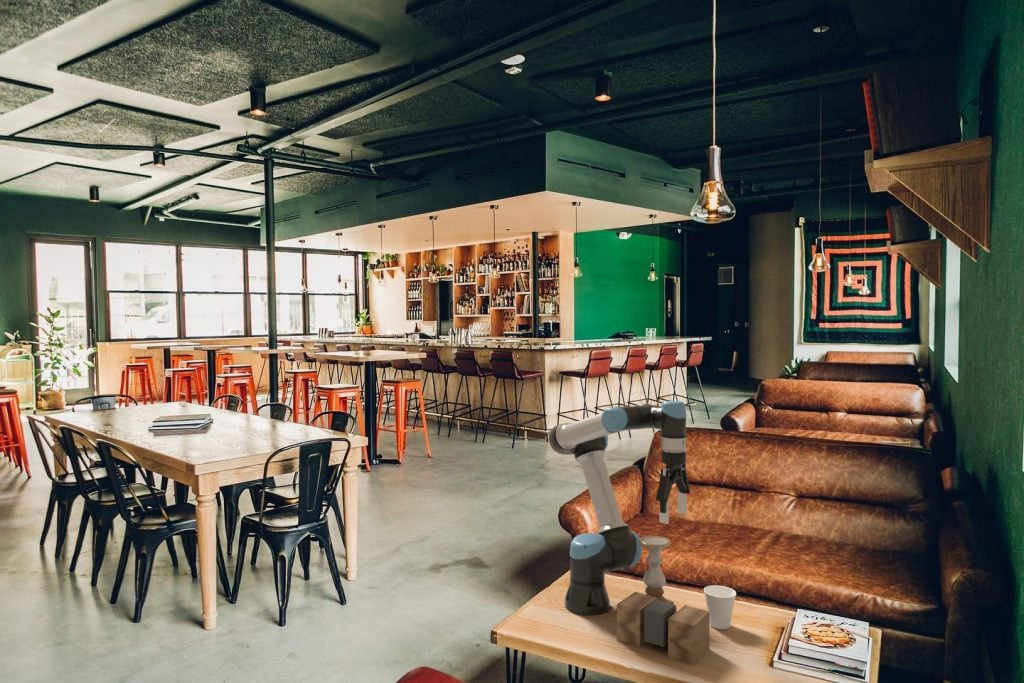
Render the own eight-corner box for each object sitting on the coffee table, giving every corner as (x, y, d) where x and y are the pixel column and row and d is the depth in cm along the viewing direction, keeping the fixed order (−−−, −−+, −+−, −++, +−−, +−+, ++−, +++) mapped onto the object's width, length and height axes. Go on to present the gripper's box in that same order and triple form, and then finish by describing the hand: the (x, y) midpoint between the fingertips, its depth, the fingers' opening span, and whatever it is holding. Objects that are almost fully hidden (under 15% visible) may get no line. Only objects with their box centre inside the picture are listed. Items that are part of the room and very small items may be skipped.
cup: (738, 634, 198) (738, 598, 198) (704, 631, 200) (705, 596, 200) (734, 620, 208) (734, 586, 208) (702, 617, 210) (702, 584, 210)
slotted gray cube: (644, 640, 188) (644, 608, 188) (656, 630, 195) (656, 599, 195) (663, 646, 185) (663, 614, 185) (675, 636, 191) (675, 604, 191)
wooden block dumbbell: (616, 640, 194) (617, 603, 194) (635, 626, 204) (635, 591, 203) (693, 665, 179) (693, 625, 179) (709, 648, 189) (709, 611, 189)
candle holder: (677, 611, 215) (677, 540, 215) (660, 621, 207) (660, 547, 207) (648, 602, 222) (648, 533, 222) (631, 611, 214) (631, 540, 214)
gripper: (668, 457, 190) (667, 529, 190) (700, 446, 209) (699, 511, 210) (644, 454, 194) (644, 524, 194) (678, 444, 214) (678, 507, 214)
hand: (673, 518), depth 202 cm, fingers open, 13 cm apart
